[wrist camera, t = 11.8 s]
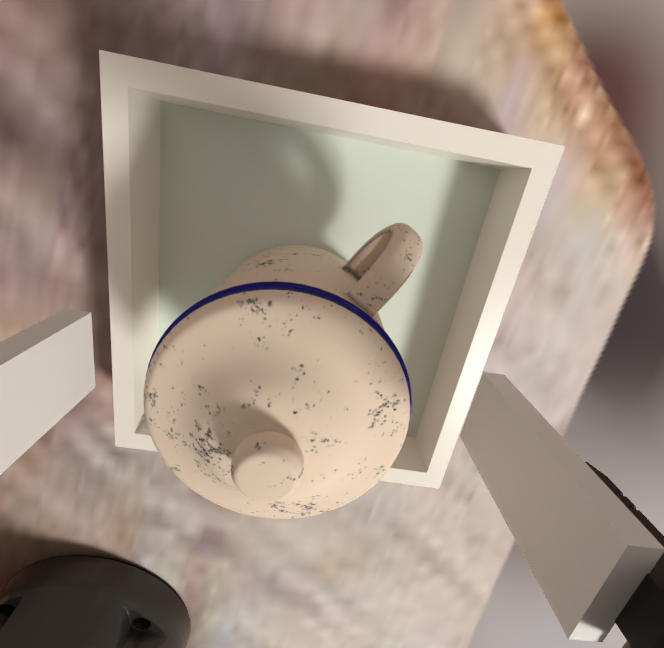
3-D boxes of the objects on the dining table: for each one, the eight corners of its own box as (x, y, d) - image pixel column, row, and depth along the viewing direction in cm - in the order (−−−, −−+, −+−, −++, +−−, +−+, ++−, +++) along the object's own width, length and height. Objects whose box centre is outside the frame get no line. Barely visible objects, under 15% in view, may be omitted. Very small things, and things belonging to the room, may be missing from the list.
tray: (148, 403, 24) (115, 446, 20) (148, 76, 17) (99, 49, 14) (422, 442, 25) (439, 488, 22) (517, 151, 19) (565, 146, 15)
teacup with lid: (309, 418, 23) (293, 631, 12) (182, 330, 21) (27, 495, 10) (453, 273, 20) (602, 390, 9) (321, 150, 18) (311, 110, 7)
